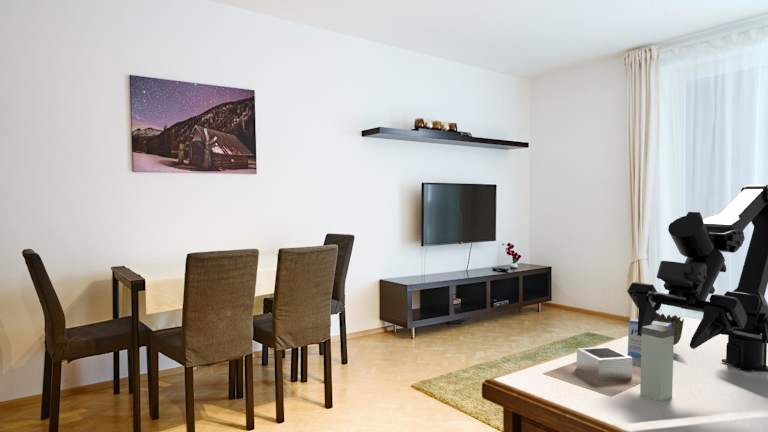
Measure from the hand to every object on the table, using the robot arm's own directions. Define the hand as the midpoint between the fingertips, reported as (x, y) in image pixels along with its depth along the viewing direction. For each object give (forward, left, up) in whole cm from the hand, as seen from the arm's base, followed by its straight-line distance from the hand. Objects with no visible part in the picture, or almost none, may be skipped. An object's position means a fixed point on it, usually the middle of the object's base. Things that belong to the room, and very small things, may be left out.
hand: (664, 340), depth 88 cm
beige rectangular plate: (+5, -11, -10) cm, 16 cm away
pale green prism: (+2, +1, -10) cm, 11 cm away
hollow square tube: (+5, -11, -9) cm, 15 cm away
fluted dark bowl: (-19, -26, -11) cm, 34 cm away
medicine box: (-11, -20, -11) cm, 25 cm away
